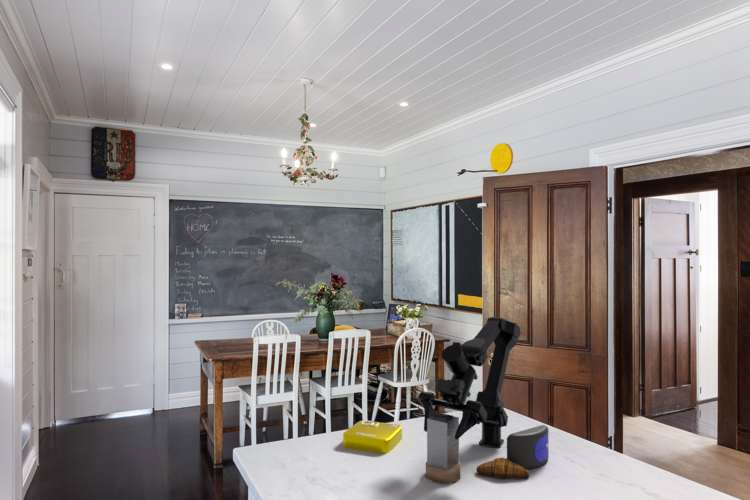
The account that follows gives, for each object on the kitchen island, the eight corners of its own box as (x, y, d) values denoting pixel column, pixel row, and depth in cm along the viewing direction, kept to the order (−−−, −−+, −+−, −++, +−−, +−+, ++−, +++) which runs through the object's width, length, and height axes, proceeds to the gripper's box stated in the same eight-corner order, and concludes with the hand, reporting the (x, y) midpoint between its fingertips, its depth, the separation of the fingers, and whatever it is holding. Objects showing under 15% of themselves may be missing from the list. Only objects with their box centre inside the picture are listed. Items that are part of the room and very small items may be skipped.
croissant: (528, 473, 134) (527, 454, 135) (530, 484, 128) (530, 464, 128) (476, 469, 137) (476, 450, 137) (476, 479, 130) (476, 460, 131)
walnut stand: (432, 466, 138) (432, 455, 138) (464, 472, 134) (464, 461, 134) (420, 479, 130) (420, 467, 130) (454, 486, 126) (454, 474, 126)
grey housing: (439, 457, 136) (439, 411, 136) (458, 463, 132) (458, 415, 133) (427, 465, 131) (427, 416, 132) (447, 471, 128) (447, 421, 128)
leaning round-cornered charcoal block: (518, 475, 133) (518, 438, 133) (505, 469, 136) (505, 433, 137) (557, 461, 142) (557, 427, 142) (544, 456, 145) (543, 423, 146)
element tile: (340, 448, 152) (340, 432, 152) (360, 432, 166) (360, 417, 166) (387, 455, 146) (387, 439, 147) (403, 438, 160) (403, 423, 160)
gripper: (420, 362, 141) (398, 411, 132) (482, 371, 130) (461, 425, 121) (435, 384, 147) (414, 433, 138) (495, 395, 136) (476, 449, 127)
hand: (440, 434), depth 131 cm, fingers open, 9 cm apart
